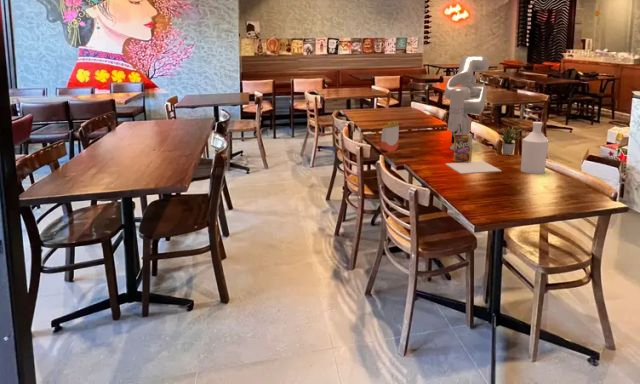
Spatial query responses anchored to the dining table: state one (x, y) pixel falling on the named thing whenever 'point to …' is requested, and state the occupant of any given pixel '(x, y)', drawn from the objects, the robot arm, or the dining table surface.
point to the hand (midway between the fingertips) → (454, 143)
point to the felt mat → (473, 167)
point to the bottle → (534, 151)
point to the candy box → (463, 147)
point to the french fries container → (390, 137)
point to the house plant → (508, 141)
